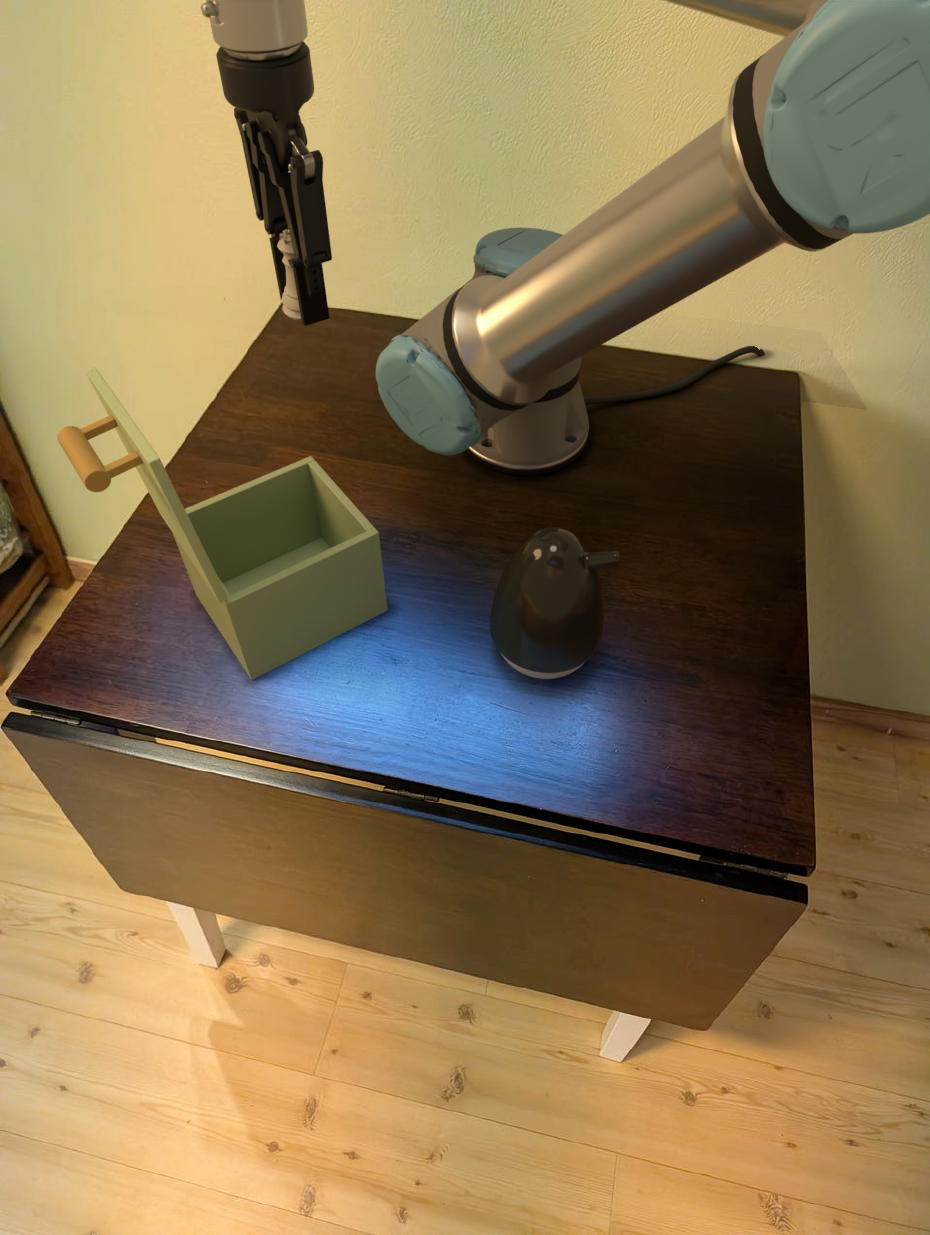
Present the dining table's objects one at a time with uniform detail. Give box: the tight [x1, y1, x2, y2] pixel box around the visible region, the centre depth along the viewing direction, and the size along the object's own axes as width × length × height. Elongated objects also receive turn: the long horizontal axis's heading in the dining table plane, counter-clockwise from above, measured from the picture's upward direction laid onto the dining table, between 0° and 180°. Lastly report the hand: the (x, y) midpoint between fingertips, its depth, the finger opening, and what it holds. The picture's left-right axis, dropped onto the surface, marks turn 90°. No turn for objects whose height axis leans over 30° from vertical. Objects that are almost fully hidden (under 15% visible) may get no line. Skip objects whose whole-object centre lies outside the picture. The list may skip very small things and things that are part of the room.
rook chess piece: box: [277, 229, 302, 322], centre depth 83 cm, size 4×4×8 cm
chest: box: [171, 455, 388, 681], centre depth 79 cm, size 15×13×11 cm
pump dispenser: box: [489, 526, 621, 680], centre depth 73 cm, size 10×10×15 cm
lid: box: [56, 366, 228, 603], centre depth 65 cm, size 16×13×5 cm
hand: (304, 308), depth 86 cm, fingers closed on rook chess piece, 4 cm apart
